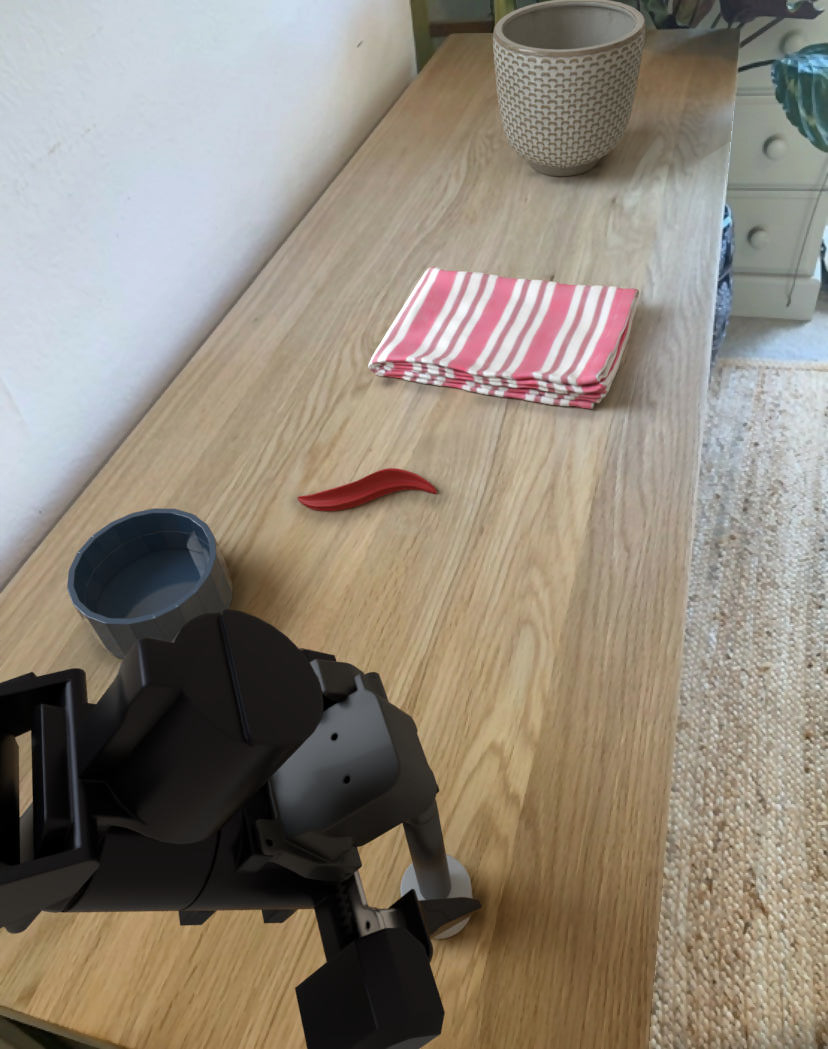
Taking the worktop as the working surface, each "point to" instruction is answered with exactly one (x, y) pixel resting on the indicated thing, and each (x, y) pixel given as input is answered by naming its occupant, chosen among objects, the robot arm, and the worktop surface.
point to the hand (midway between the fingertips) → (453, 847)
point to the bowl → (148, 578)
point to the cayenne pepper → (366, 490)
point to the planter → (567, 80)
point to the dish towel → (509, 337)
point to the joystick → (433, 865)
